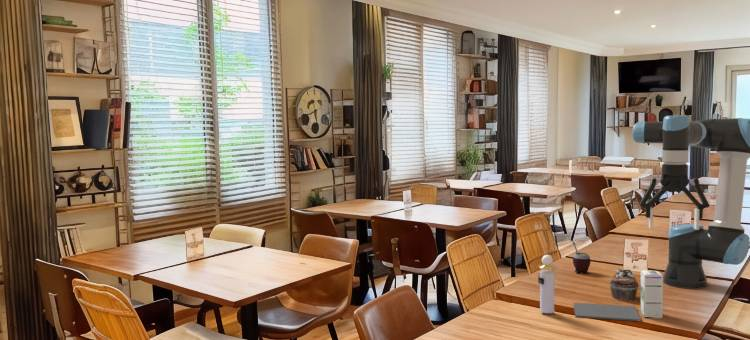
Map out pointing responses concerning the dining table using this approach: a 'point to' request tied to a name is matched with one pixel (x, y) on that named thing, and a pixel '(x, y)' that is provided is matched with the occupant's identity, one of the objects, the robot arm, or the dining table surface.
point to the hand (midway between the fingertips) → (673, 228)
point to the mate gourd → (581, 261)
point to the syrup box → (651, 294)
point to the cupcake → (624, 285)
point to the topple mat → (606, 311)
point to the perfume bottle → (546, 285)
